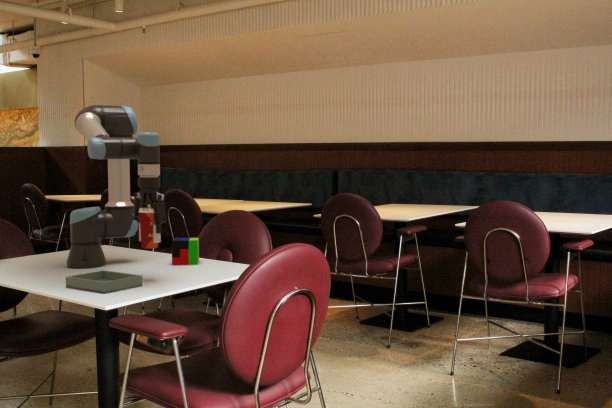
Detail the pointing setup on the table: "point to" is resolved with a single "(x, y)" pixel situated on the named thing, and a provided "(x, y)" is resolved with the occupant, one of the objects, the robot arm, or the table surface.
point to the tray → (104, 281)
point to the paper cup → (147, 227)
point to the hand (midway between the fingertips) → (149, 241)
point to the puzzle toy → (185, 251)
